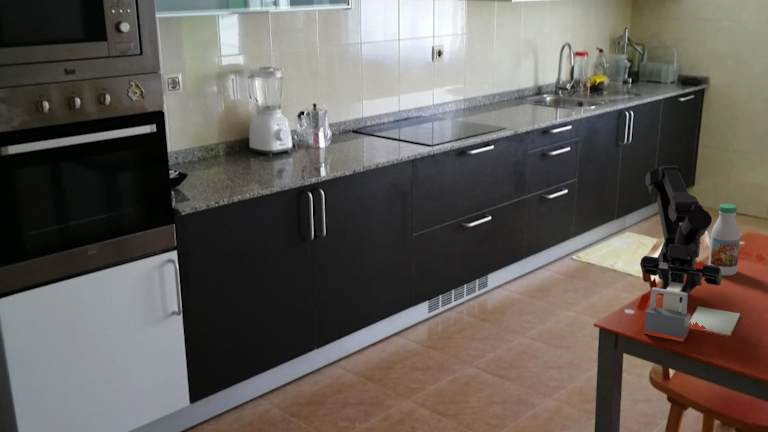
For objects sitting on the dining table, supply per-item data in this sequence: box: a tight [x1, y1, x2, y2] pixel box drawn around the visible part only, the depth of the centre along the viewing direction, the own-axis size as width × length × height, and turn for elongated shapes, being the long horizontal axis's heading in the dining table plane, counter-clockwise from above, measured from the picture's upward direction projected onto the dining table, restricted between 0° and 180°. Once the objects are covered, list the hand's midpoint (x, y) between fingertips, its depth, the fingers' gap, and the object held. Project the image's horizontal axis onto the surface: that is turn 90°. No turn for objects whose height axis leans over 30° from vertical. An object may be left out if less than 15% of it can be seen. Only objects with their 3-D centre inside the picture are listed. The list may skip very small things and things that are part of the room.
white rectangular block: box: [662, 282, 685, 312], centre depth 194 cm, size 8×3×10 cm, turn 148°
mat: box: [690, 306, 741, 336], centre depth 196 cm, size 14×10×1 cm
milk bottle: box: [707, 203, 741, 277], centre depth 227 cm, size 8×8×20 cm
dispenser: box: [644, 287, 691, 339], centre depth 189 cm, size 6×9×11 cm, turn 58°
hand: (673, 301), depth 193 cm, fingers closed on white rectangular block, 3 cm apart
